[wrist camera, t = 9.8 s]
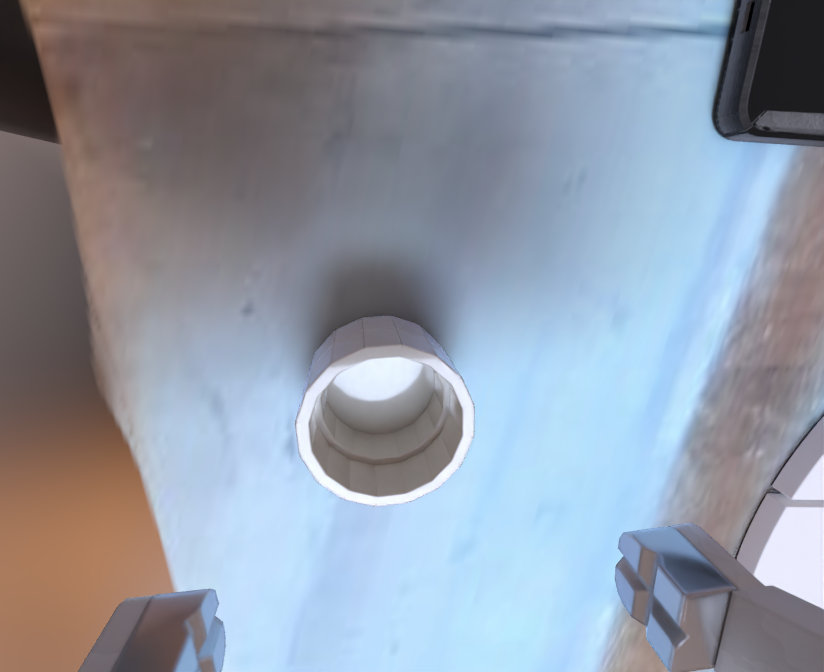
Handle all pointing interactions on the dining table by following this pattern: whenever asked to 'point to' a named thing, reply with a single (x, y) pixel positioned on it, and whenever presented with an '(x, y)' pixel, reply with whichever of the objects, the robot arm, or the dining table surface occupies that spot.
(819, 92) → the phone
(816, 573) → the lazy susan
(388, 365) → the white plastic cup
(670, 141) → the dining table surface
